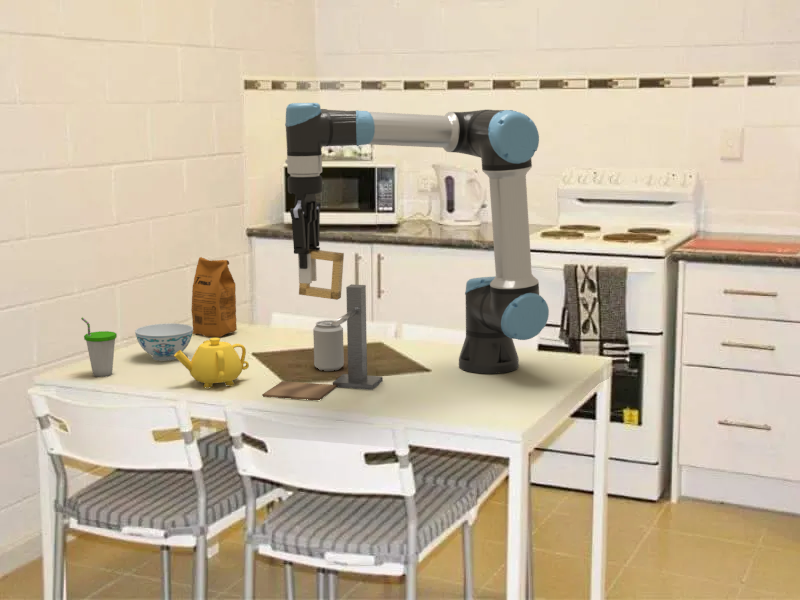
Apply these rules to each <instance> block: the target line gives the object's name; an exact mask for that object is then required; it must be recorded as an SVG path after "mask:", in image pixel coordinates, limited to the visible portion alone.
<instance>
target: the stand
mask: <svg viewBox="0 0 800 600" xmlns="http://www.w3.org/2000/svg"><path fill="white" fill-rule="evenodd" d="M366 286H367V285H366V284H353V283H352V284H350V285H347V286H346V287H345V288H346V313H345V314H343V315H342V316H340V317H339V318H337V319H335V321H334V322H332V324H331V325H332V327H333V328H336V327H337V326H339V325H342V324H344V323H346V331H347V332H346V334H347V338H346V339H347V340H346V341H347V373H343V374H341V375H340V376H339V377H338V378H335V380H334V381H332V385H337V387H336V388H339V389H355V390H369V391H371V390H372V391H373V390H374V389H376V388H377V387H378V386H379V385H380V384H382V382H383V379H384V378H383V375H382V376H379V375H368V353H367V352H368V348H367V346H368V345H367V343H368V339H367V293H366V292H367V291H366V290H367V288H366Z"/></svg>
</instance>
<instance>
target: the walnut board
mask: <svg viewBox="0 0 800 600" xmlns="http://www.w3.org/2000/svg"><path fill="white" fill-rule="evenodd" d="M337 388H338V387H337V385H333V384H328V383H311V382H298V381H286V380H285V381H284V380H281V381H280V382H279V383H276V385H274V386H272V387H271V388H270V389H268V390H267V391H265V392H264V393H262V395H261V397H262V396H263V398H271V397H278V398H277V399H285V398H291V399H290V400H299V399H306V400H305V401H313V400H320V399H321V400H322V399H323V397H324V396H325V397H326V396H328V395H329V394H330V393H332V392H333V391H334V390H335V389H337ZM325 397H324V398H325ZM307 399H308V400H307ZM321 400H320V401H321Z"/></svg>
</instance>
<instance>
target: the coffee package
mask: <svg viewBox="0 0 800 600" xmlns="http://www.w3.org/2000/svg"><path fill="white" fill-rule="evenodd" d="M228 265H230V261H229V260H227V259H219V260H218V259H217V260H216V259H215V260H209V259H206V258H204V257H202V256H200V257H199V258H198V260H197V265H196V269H195V274H194V278H193V283H192V291H191V292H192V294H191V309H190V311H191V318H192V327H193V333H192V335H202V336H204V337H206V338H207V337H209V338H210V337H211V338H221V337H223V336H225V335H227V334H232V333H235V332H236V331H237V330H238V328H237V314H236V313H237V305H236V304H237V297H236V282H235V279H234V277H233V275H232V273H231V271H230V268H229V266H228Z"/></svg>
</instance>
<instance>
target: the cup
mask: <svg viewBox="0 0 800 600" xmlns="http://www.w3.org/2000/svg"><path fill="white" fill-rule="evenodd" d="M80 320H81V321H83V322H84V323H85V324H86V325H87V333H86V334H84V335H83V338H84V339H83V340H84V341H86V342H85V343H86V347H87V351H88V356H89V361H90V367H91V370H92V375H93V377H95V378H106V377H109V376H112V375H113V368H114V357H115V356H114V354H115V344H116V339H117V337H118V335H117V333H116V332H114V331H108V330H105V331H104V330H103V331H93V332H91V325H90V322H89V321H87V320H86V319H85V318H84V317H83V316H82V317H81V319H80Z"/></svg>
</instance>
